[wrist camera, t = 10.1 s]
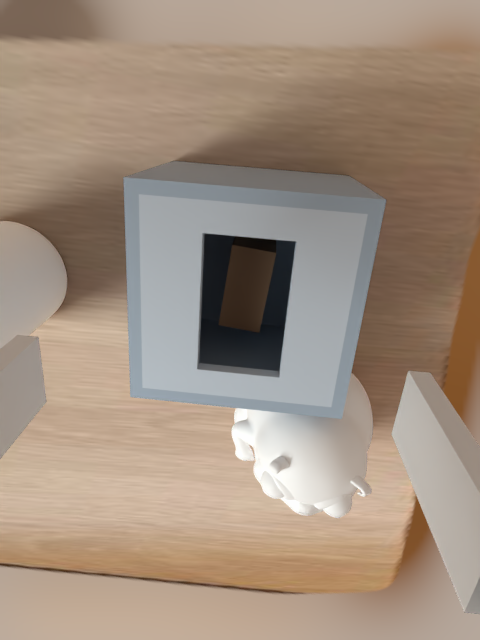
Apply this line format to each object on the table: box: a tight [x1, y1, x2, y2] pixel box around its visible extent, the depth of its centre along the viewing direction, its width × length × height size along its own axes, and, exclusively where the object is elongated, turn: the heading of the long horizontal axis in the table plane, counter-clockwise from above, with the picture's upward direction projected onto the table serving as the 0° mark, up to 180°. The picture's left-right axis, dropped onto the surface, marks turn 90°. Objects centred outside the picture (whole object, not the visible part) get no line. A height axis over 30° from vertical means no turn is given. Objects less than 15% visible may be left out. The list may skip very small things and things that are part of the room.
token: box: [219, 236, 276, 333], centre depth 29 cm, size 2×5×7 cm, turn 170°
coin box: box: [123, 161, 386, 419], centre depth 27 cm, size 12×12×11 cm
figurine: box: [232, 373, 373, 518], centre depth 31 cm, size 10×10×12 cm
